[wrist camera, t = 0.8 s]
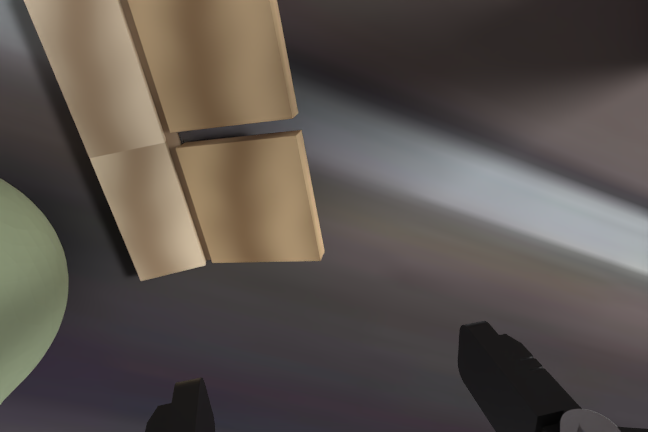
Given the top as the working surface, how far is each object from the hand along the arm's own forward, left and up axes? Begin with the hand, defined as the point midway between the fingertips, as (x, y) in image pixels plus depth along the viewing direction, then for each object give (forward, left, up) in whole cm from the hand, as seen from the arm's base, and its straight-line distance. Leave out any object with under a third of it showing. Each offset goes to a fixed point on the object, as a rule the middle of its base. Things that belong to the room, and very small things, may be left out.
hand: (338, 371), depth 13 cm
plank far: (+2, 0, -17) cm, 17 cm away
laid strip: (+9, -4, -19) cm, 21 cm away
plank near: (+2, -9, -17) cm, 19 cm away
